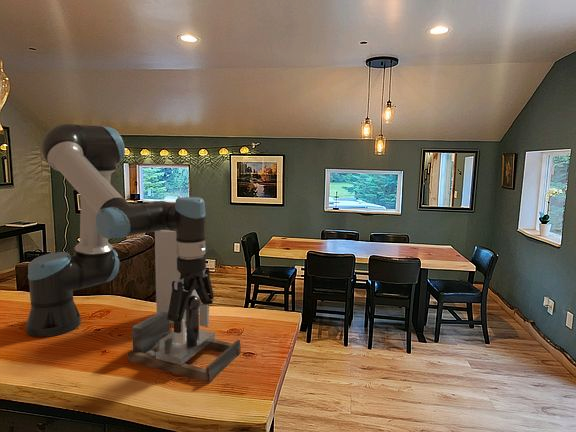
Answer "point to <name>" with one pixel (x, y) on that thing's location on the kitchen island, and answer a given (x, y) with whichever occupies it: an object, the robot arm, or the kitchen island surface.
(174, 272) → the vase
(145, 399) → the kitchen island surface
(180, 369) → the grey rectangular frame
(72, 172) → the robot arm
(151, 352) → the stone
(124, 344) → the kitchen island surface
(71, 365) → the kitchen island surface
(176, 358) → the ram
